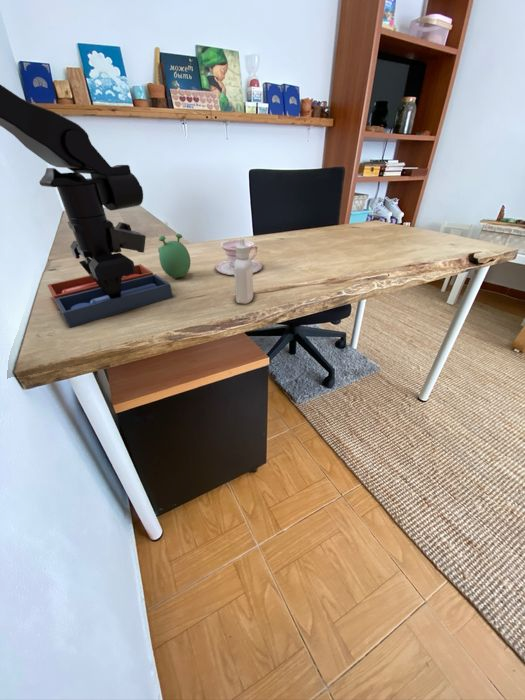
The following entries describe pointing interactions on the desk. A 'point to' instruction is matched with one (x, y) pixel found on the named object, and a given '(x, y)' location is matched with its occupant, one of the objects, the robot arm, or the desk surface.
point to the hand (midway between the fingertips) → (114, 299)
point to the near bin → (112, 300)
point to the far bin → (60, 286)
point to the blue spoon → (109, 297)
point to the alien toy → (174, 257)
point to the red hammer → (90, 285)
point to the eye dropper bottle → (243, 274)
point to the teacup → (230, 249)
